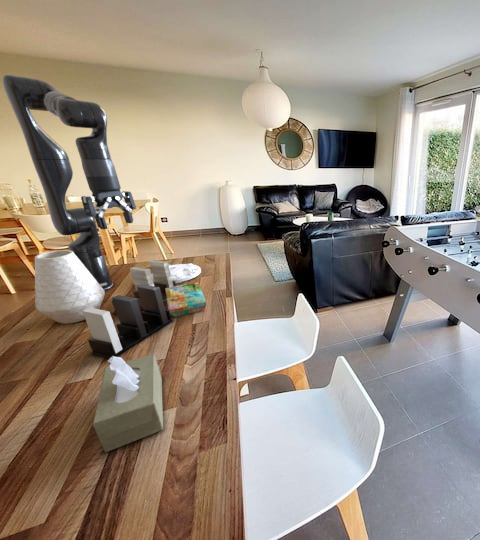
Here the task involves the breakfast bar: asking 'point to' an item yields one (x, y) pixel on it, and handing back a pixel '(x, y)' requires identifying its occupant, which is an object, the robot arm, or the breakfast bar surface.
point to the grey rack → (135, 320)
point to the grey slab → (144, 277)
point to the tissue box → (129, 402)
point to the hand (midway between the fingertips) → (117, 225)
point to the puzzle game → (185, 299)
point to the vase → (65, 287)
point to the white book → (102, 327)
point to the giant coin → (183, 272)
